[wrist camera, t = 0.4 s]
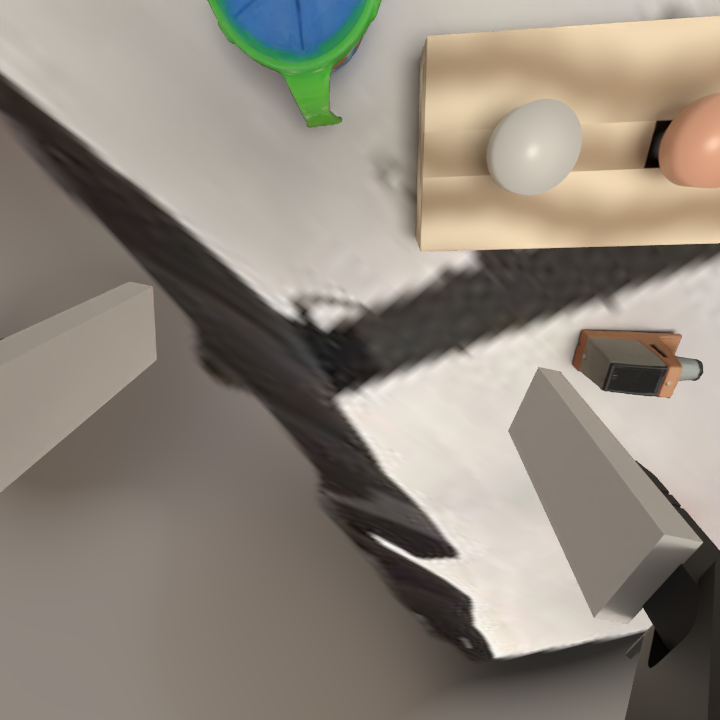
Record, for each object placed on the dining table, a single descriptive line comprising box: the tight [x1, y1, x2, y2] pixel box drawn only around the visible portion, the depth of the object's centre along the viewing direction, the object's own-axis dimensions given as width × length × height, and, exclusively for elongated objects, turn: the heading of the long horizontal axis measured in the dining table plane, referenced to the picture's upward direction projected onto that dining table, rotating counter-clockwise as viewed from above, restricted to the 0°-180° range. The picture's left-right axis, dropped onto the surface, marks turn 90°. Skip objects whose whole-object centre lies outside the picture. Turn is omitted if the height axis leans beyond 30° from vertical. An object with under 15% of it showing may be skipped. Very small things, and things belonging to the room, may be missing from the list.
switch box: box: [416, 16, 720, 251], centre depth 30 cm, size 14×24×6 cm, turn 92°
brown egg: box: [647, 93, 720, 188], centre depth 26 cm, size 5×5×6 cm
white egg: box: [486, 99, 582, 195], centre depth 27 cm, size 5×5×6 cm
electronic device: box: [573, 330, 703, 398], centre depth 38 cm, size 4×10×8 cm, turn 91°
